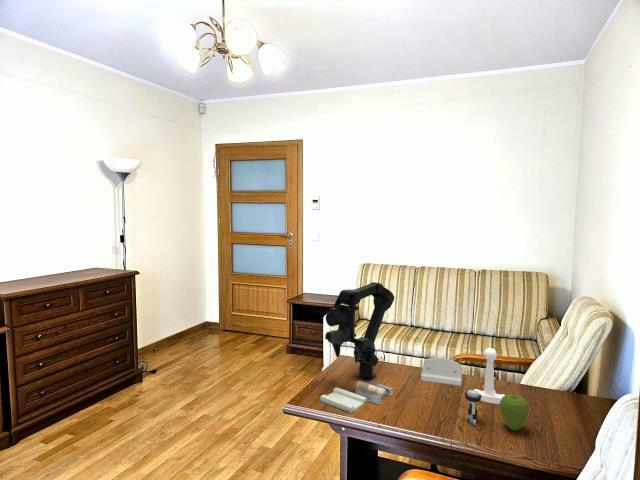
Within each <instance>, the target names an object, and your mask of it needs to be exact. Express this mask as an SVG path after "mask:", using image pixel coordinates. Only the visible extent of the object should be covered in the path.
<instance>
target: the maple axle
mask: <svg viewBox="0 0 640 480" xmlns="http://www.w3.org/2000/svg"><path fill="white" fill-rule="evenodd" d="M368 383H369V382H364V381H361V380H356V381H355V383H354V386H353V389H354V391H355V392H356V390H357V389H361V390H364V391H367V392H370V393H373V394H376V395H379V396H381V400H383V399H385V397H386V396H387V395H386V390H385V389H383V388H380V387H377V386H374V385H371V384H368Z"/></svg>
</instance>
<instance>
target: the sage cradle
mask: <svg viewBox="0 0 640 480" xmlns="http://www.w3.org/2000/svg"><path fill="white" fill-rule="evenodd" d="M319 399H320V403H323V404H326V405H328V406H331V407H334V408H336V409H339V410H341V411H344V412H347V413H350V414H352V413H354V412H355V411H357V410H358V409H360V408H361V407H363V406H364V405H365V404H367V403H368V401H367V398H366V397H363V396H360V395H357V394H356V393H354V392H351V391H349V390H346V389H343V388H339V387H334V388H333V391H332V392H331V393H329V394H322V395H321V396H320V398H319Z"/></svg>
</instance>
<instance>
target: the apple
mask: <svg viewBox="0 0 640 480" xmlns="http://www.w3.org/2000/svg"><path fill="white" fill-rule="evenodd" d="M504 395H505V396H503V397H502V399H501V401H500V404H499V407H500V411H501V415H502V417H503V421H504V423H505V424H506V425H507V427H508V429H509V430H511V431H513V432H516V431H518V430H521V428H523V427H524V425H525V423H526V421H527V419H528V417H529V413H530V404H529V402H528V401H527V399H525V398H524V397H522V396H520V395H517V394H514V393H513V394H512V393H507V394H504Z"/></svg>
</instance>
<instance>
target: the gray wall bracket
mask: <svg viewBox="0 0 640 480" xmlns="http://www.w3.org/2000/svg"><path fill="white" fill-rule="evenodd" d="M462 373H463V372H462V365H461V364H460V362H457V361H455V360H452V359H448V358H444V357H430V358H426V359H424V360H423V364H422V368H421V374H420V376H421V378H420V380H421V381H426V382H433V383H438V384H439V383H441V384H446V385H453V386H459V387H460V386H461V387H462V382H463V375H462Z"/></svg>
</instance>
